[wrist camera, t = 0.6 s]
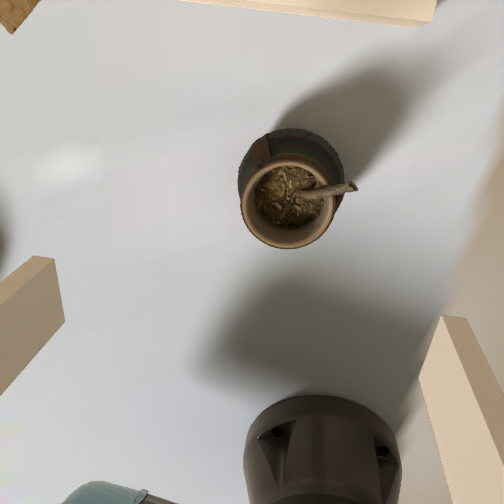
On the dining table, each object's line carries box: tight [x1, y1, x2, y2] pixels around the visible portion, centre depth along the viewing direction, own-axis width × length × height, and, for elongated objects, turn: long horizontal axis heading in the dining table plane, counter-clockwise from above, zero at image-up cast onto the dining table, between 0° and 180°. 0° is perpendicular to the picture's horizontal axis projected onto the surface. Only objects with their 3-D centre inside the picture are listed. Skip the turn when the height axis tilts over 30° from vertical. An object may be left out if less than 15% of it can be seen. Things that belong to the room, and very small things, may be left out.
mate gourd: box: [238, 128, 358, 249], centre depth 27 cm, size 7×8×10 cm
